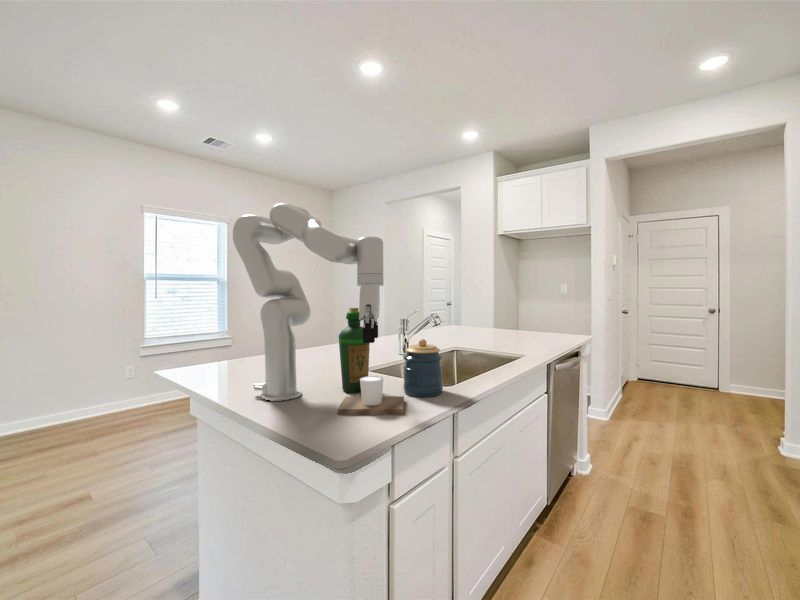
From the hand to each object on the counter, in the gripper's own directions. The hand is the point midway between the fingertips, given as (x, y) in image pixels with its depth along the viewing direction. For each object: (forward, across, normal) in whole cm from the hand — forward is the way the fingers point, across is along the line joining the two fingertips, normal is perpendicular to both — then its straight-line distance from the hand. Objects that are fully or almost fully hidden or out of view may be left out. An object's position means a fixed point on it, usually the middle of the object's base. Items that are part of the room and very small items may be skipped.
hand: (370, 340), depth 107 cm
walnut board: (+20, 0, 0) cm, 20 cm away
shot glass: (+18, 0, 0) cm, 18 cm away
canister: (+20, -16, +15) cm, 30 cm away
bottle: (+20, -19, -8) cm, 28 cm away
